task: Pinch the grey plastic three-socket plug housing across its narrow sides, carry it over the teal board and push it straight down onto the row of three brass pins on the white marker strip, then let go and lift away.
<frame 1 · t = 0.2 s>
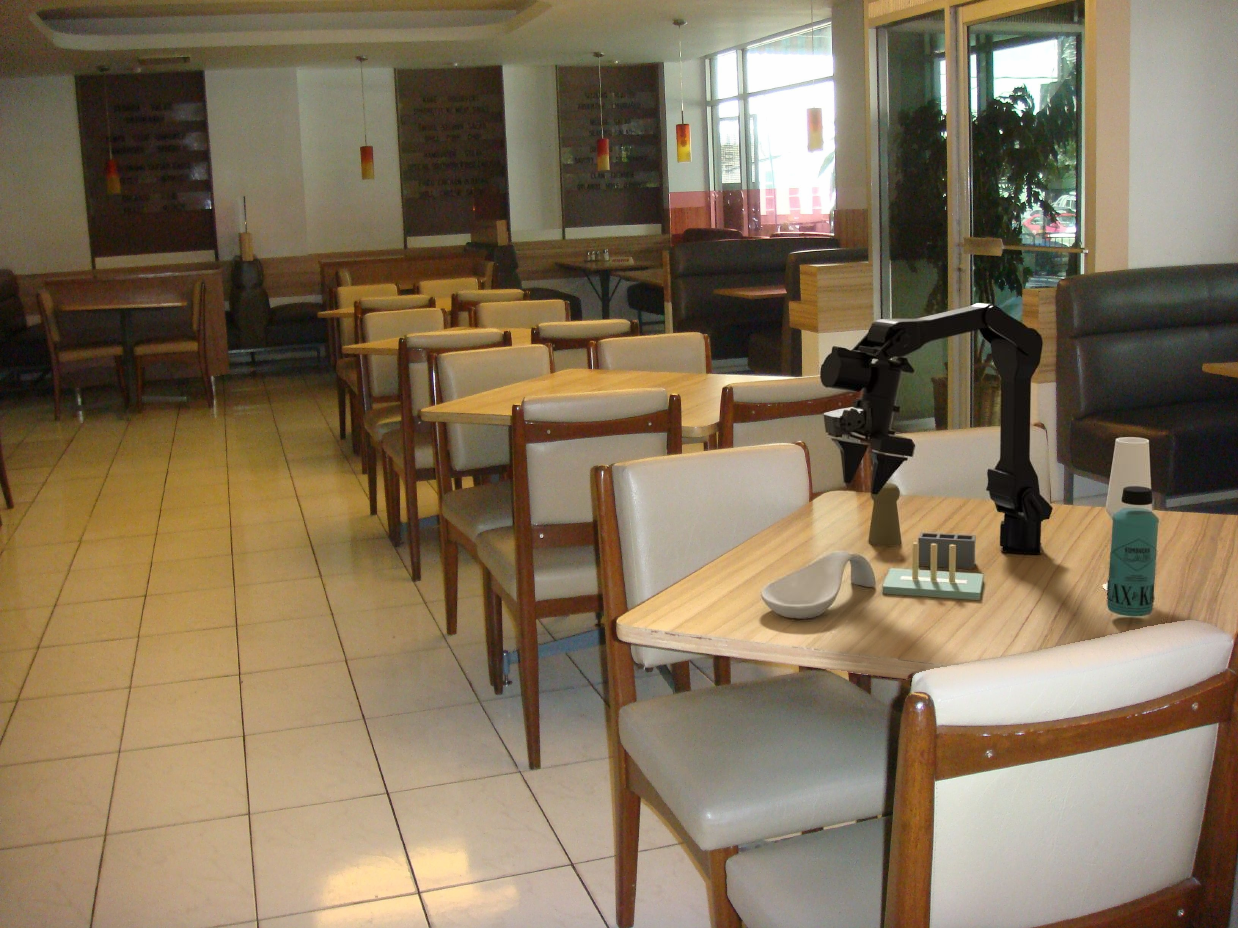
hand: (860, 488, 200), 15 cm above the table, tool pointing down, fingers open, 9 cm apart
header board: (933, 587, 196), on the table
plug housing: (946, 564, 208), on the table
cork: (884, 542, 223), on the table
white vase: (1124, 589, 192), on the table
spoon rest: (821, 605, 191), on the table
beverage bottle: (1129, 620, 178), on the table
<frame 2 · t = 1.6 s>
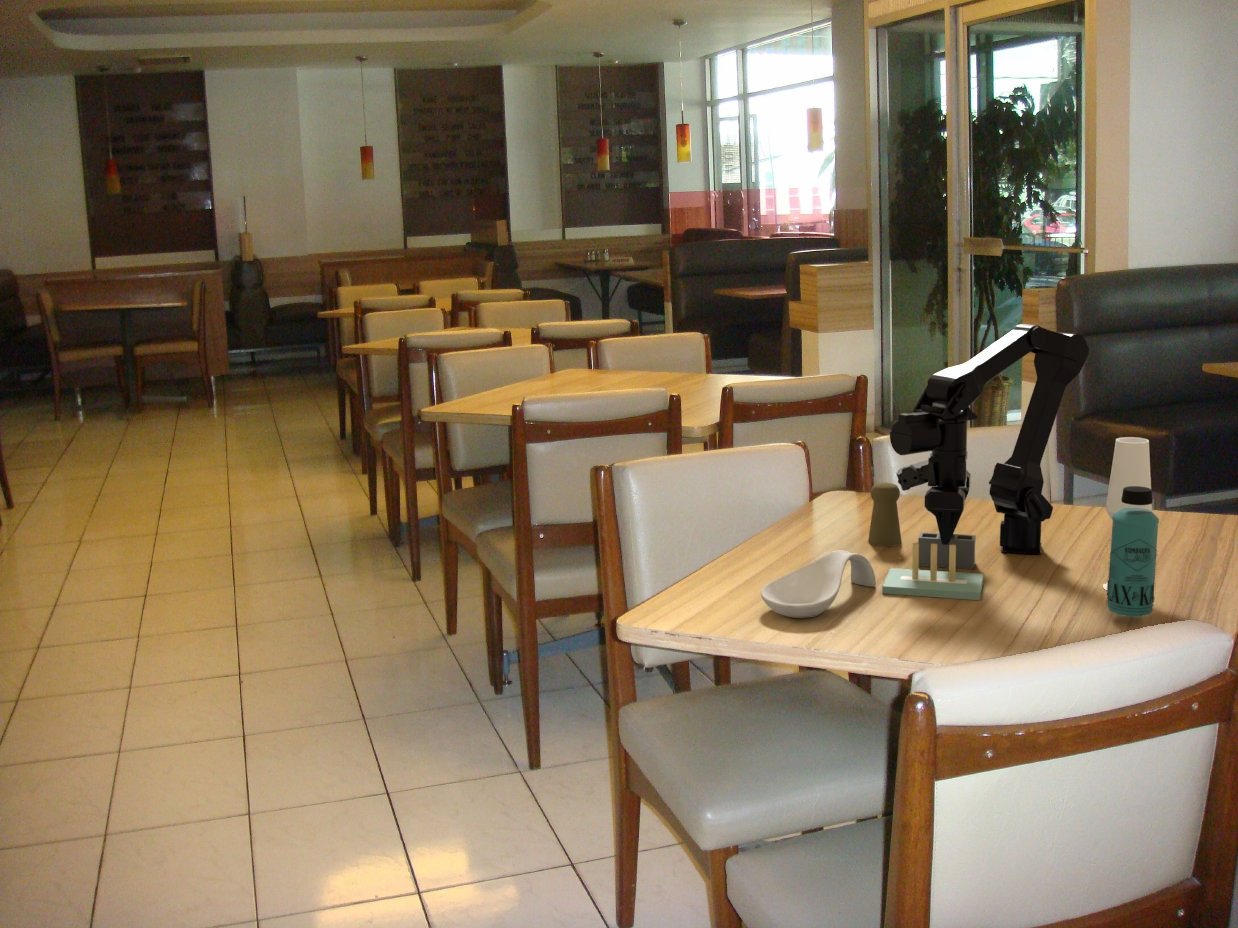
hand: (947, 537, 207), 5 cm above the table, tool pointing down, fingers open, 9 cm apart
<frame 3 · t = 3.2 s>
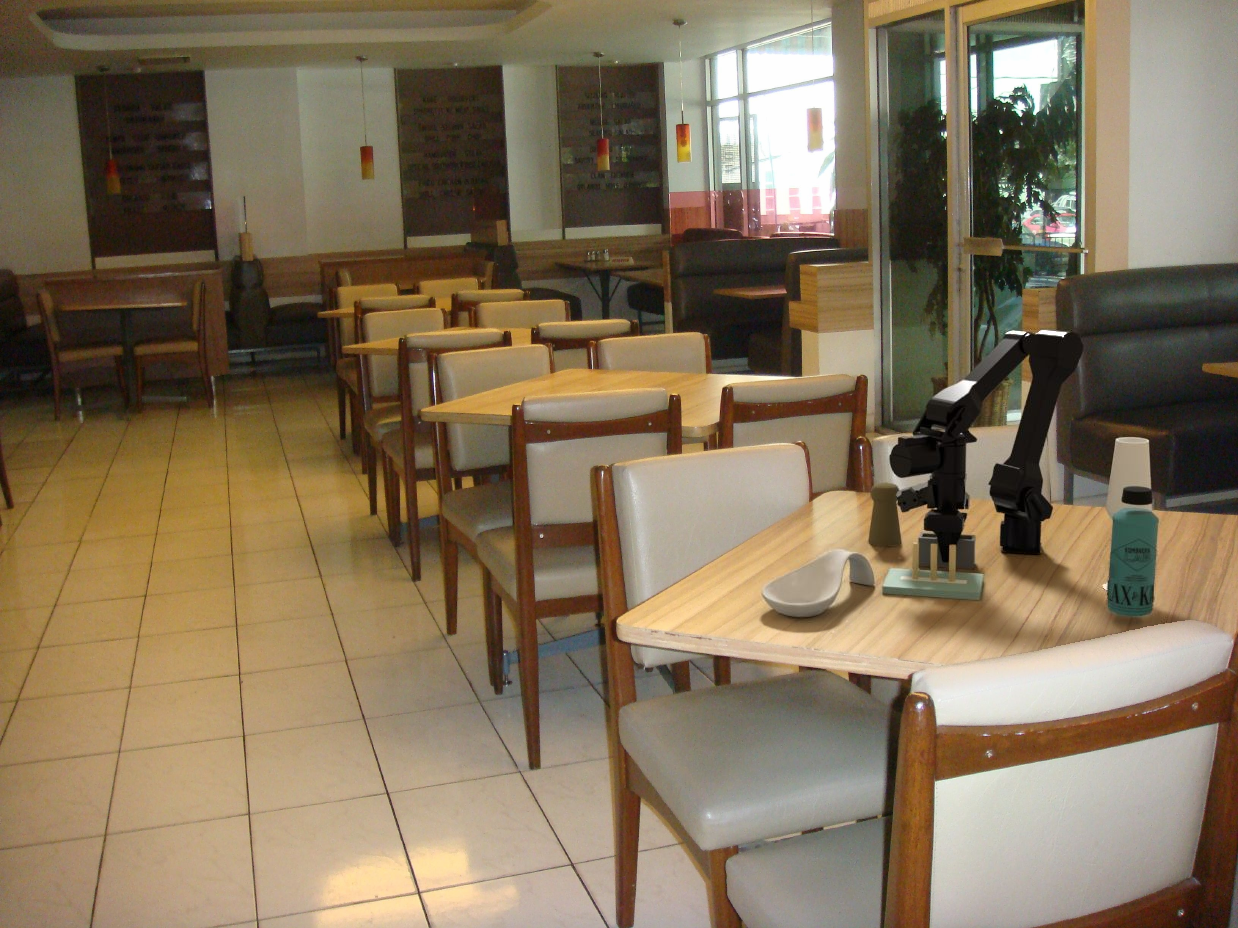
hand: (946, 558, 208), 1 cm above the table, tool pointing down, fingers closed on plug housing, 4 cm apart
plug housing: (946, 564, 208), on the table, touching gripper
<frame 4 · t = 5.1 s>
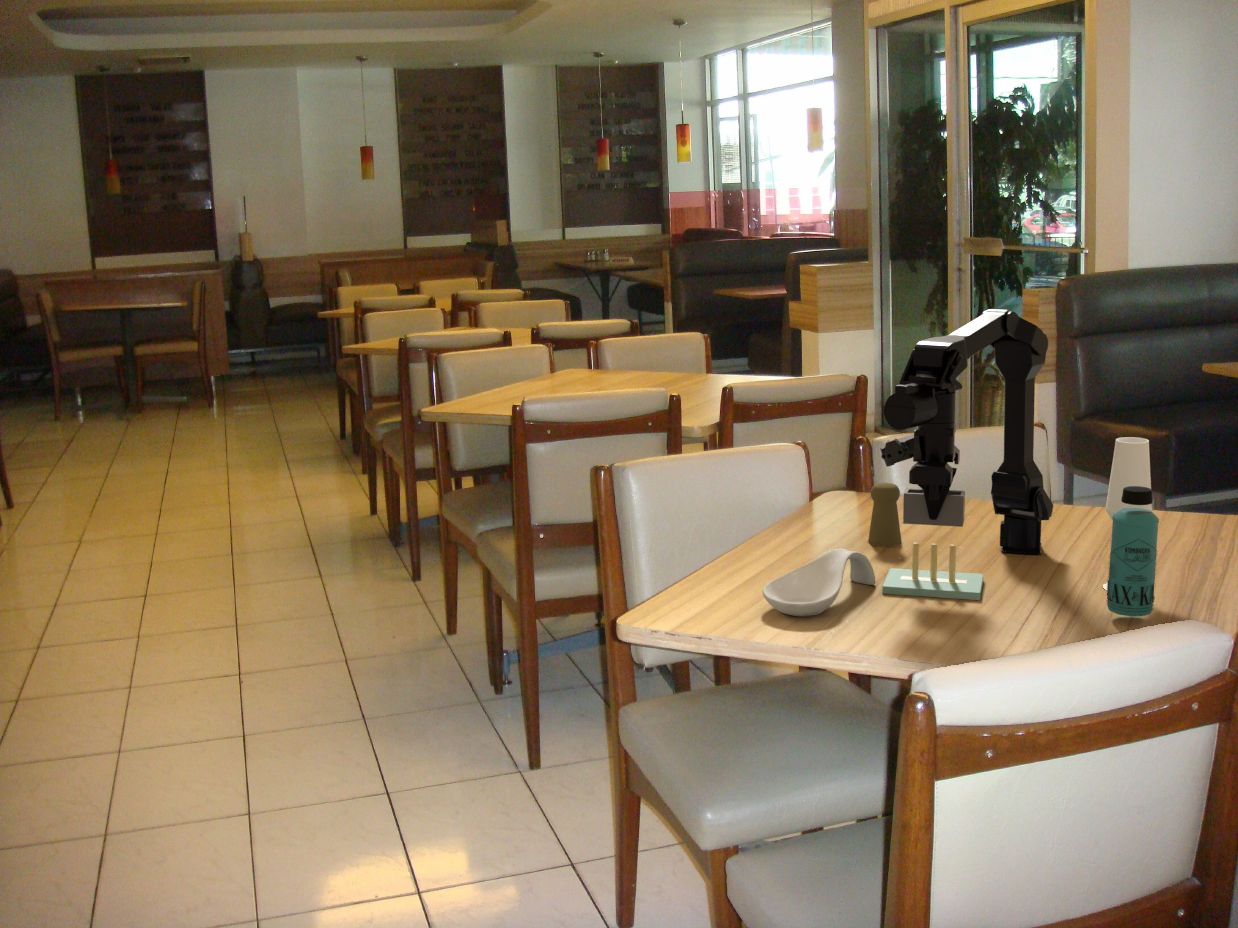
hand: (934, 516, 194), 12 cm above the table, tool pointing down, fingers closed on plug housing, 4 cm apart
plug housing: (933, 522, 194), point 11 cm above the table, touching gripper
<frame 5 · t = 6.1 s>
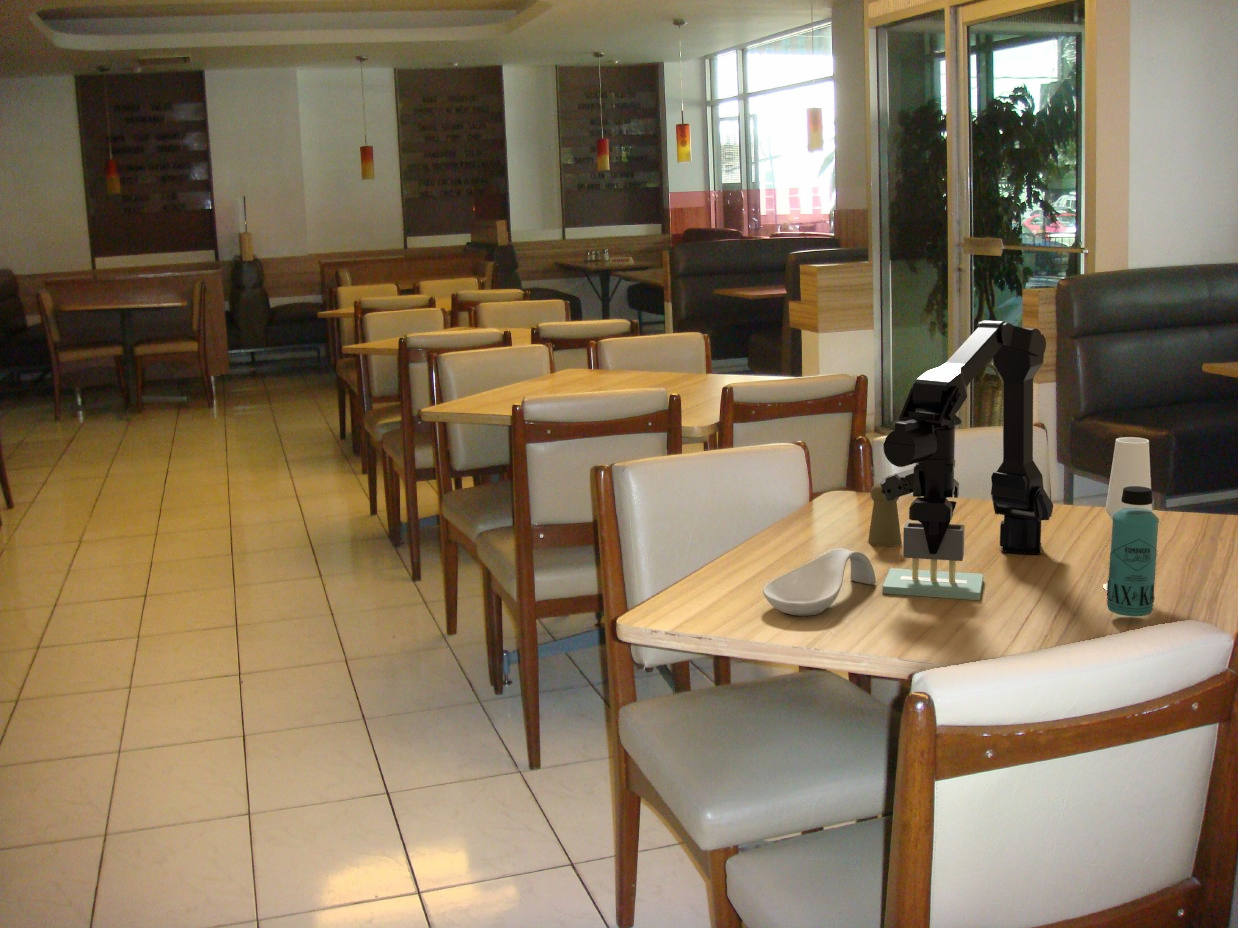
hand: (934, 550, 195), 6 cm above the table, tool pointing down, fingers closed on plug housing, 4 cm apart
plug housing: (933, 556, 195), point 5 cm above the table, touching gripper
when the fingers open (3 cm above the table, at t = 7.1 s): plug housing stays where it is, resting on header board.
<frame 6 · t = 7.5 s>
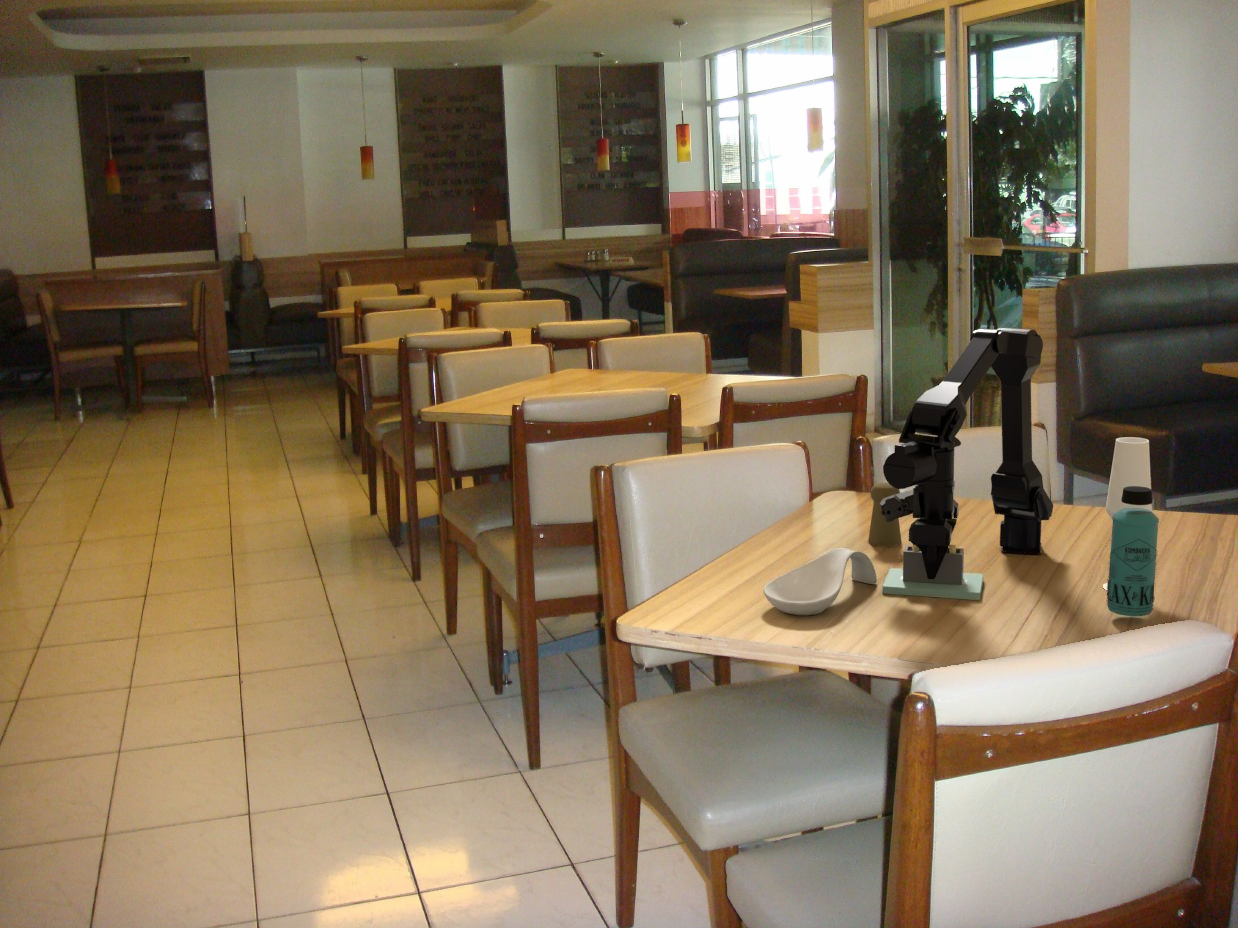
hand: (933, 571, 196), 3 cm above the table, tool pointing down, fingers open, 8 cm apart
plug housing: (933, 579, 196), point 1 cm above the table, touching header board
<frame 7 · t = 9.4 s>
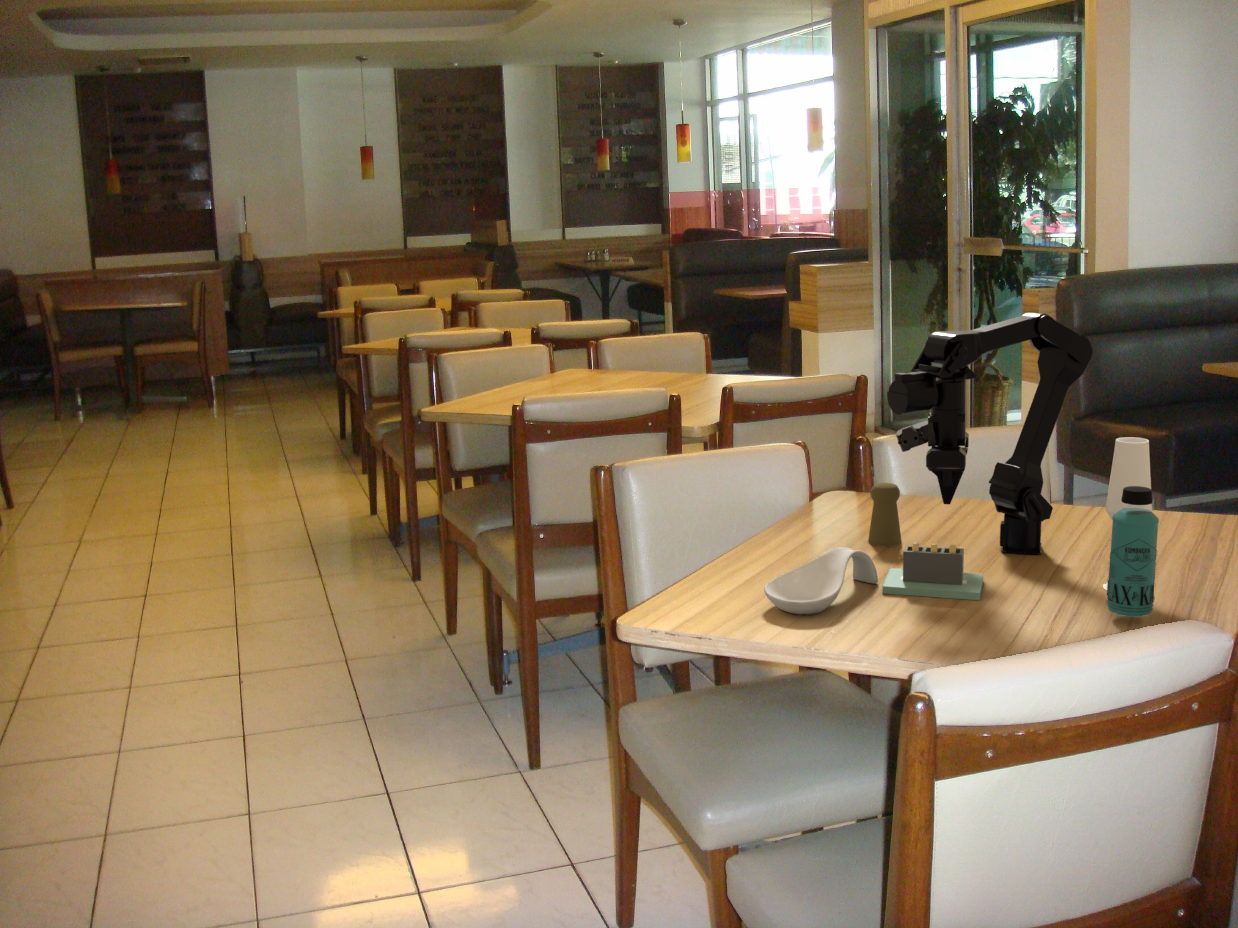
hand: (948, 497, 206), 12 cm above the table, tool pointing down, fingers open, 9 cm apart
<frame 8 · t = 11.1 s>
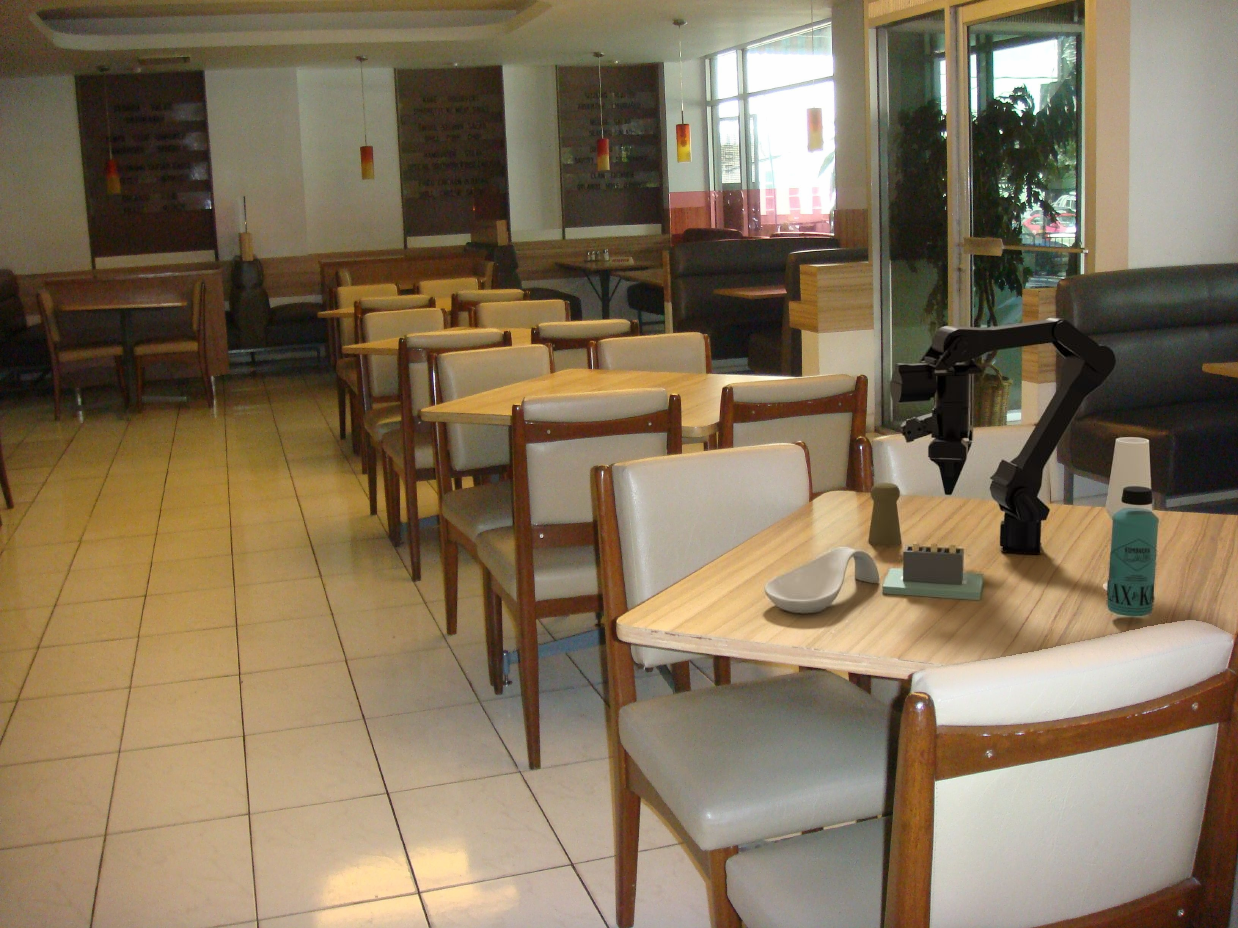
hand: (950, 488, 211), 12 cm above the table, tool pointing down, fingers open, 9 cm apart
at the end: plug housing 0.1 cm off-centre on the header board, point 1.2 cm above the header board's base; plug housing tilted 0°; the gripper is holding nothing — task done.
